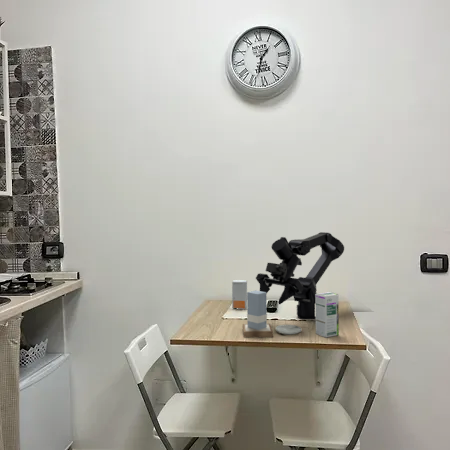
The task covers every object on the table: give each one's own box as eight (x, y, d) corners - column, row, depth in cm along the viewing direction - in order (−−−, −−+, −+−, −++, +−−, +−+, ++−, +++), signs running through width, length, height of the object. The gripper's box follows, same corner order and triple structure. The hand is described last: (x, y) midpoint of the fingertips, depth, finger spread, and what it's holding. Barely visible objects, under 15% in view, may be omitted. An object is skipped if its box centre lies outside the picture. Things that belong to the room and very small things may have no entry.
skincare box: (232, 309, 206) (231, 281, 205) (233, 307, 210) (233, 279, 209) (246, 309, 205) (246, 281, 204) (247, 307, 209) (247, 280, 208)
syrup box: (325, 338, 163) (326, 295, 163) (315, 333, 169) (315, 292, 168) (339, 335, 166) (339, 294, 165) (327, 331, 171) (328, 291, 170)
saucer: (299, 328, 175) (299, 324, 175) (303, 336, 166) (303, 331, 166) (274, 329, 175) (274, 324, 175) (277, 336, 166) (277, 331, 166)
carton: (255, 324, 174) (255, 290, 173) (266, 327, 170) (266, 292, 169) (247, 327, 170) (247, 292, 170) (258, 329, 167) (258, 294, 166)
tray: (270, 328, 175) (270, 323, 175) (272, 336, 165) (272, 331, 165) (242, 329, 175) (242, 323, 175) (243, 337, 165) (243, 331, 165)
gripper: (258, 252, 183) (239, 285, 176) (298, 256, 170) (279, 292, 163) (271, 269, 189) (253, 302, 183) (311, 275, 176) (293, 310, 169)
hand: (268, 301), depth 174 cm, fingers open, 9 cm apart
